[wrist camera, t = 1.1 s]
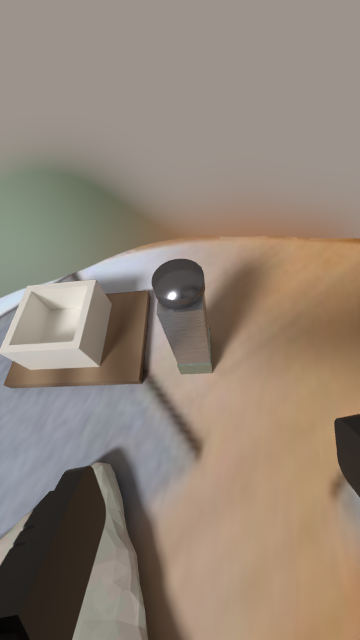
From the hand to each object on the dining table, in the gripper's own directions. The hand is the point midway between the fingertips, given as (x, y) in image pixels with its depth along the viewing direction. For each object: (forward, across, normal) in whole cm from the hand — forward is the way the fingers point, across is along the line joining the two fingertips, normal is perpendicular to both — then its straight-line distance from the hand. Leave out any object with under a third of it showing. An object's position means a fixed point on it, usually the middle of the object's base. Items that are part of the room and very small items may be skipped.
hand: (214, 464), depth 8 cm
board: (+23, +13, 0) cm, 27 cm away
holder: (+23, +14, -1) cm, 27 cm away
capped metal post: (+20, 0, +4) cm, 20 cm away
